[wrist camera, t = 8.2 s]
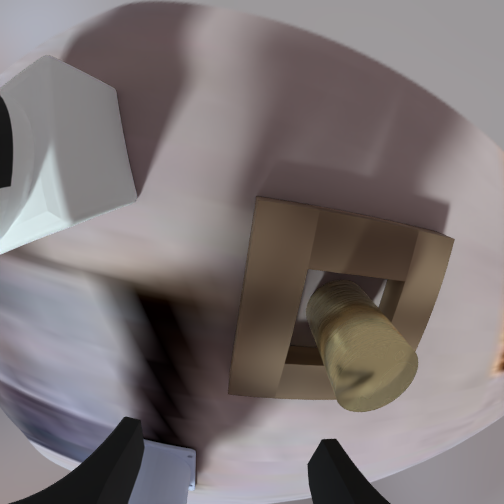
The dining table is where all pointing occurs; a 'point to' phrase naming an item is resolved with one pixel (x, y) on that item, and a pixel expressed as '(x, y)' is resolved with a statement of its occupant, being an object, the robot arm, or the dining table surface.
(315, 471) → the robot arm
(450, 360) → the dining table surface
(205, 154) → the dining table surface
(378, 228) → the square tan frame
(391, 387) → the brass peg
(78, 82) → the medicine bottle
